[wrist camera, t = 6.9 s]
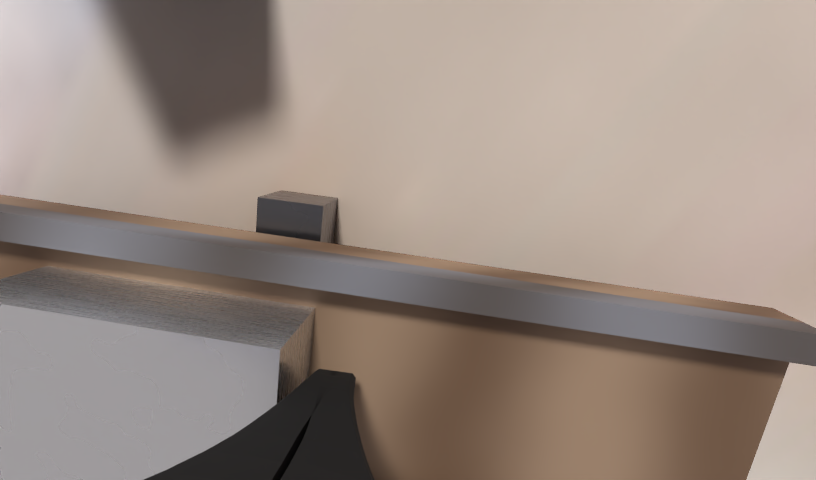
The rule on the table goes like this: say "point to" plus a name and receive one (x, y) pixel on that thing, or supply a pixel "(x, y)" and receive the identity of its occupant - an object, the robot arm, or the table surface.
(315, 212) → the pivot stand
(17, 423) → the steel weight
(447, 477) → the beam
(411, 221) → the table surface
